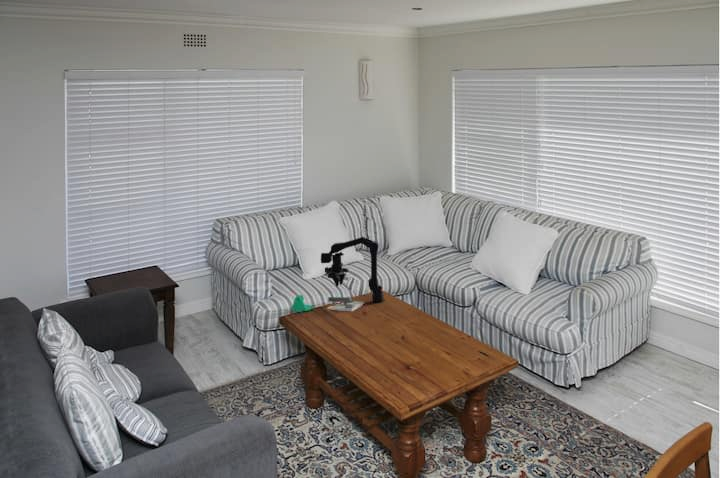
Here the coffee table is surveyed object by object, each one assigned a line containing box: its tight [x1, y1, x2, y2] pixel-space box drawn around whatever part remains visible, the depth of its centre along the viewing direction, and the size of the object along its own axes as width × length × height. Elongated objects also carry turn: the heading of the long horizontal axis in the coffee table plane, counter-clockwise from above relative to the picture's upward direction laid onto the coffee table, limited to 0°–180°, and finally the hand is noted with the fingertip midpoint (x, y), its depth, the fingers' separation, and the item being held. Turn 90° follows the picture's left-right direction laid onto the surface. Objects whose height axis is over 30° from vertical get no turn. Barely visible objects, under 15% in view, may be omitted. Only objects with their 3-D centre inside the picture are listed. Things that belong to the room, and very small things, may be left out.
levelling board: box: [326, 300, 365, 312], centre depth 388 cm, size 18×18×4 cm
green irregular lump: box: [291, 294, 314, 313], centre depth 390 cm, size 12×8×10 cm, turn 53°
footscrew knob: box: [327, 296, 353, 305], centre depth 391 cm, size 17×6×4 cm, turn 64°
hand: (339, 285), depth 398 cm, fingers open, 5 cm apart
